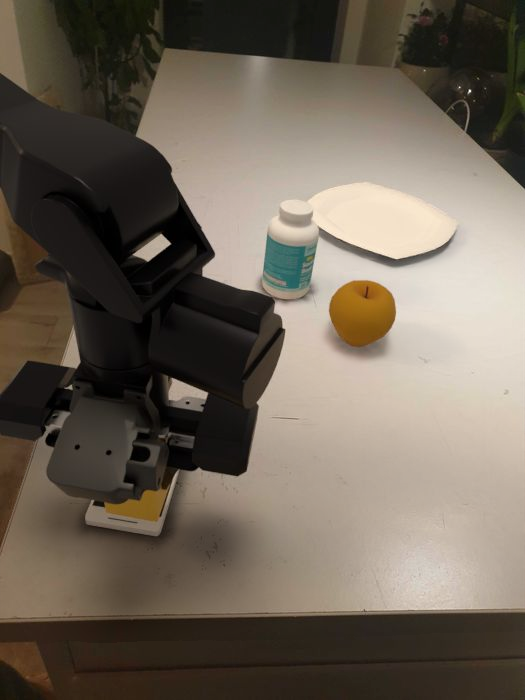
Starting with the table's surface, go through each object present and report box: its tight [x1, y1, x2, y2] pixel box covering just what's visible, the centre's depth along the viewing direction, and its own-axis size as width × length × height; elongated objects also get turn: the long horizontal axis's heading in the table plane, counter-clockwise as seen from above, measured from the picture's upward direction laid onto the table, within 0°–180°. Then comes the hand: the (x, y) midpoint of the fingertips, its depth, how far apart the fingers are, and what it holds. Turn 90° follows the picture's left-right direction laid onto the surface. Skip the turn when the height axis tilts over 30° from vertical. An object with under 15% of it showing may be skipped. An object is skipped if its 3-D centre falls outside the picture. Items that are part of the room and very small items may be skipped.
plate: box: [306, 181, 459, 261], centre depth 100 cm, size 27×27×2 cm
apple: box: [328, 279, 397, 348], centre depth 71 cm, size 9×9×9 cm
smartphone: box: [84, 470, 181, 537], centre depth 54 cm, size 7×16×1 cm, turn 173°
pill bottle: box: [261, 199, 320, 300], centre depth 77 cm, size 8×7×14 cm
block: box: [104, 436, 170, 522], centre depth 43 cm, size 4×4×9 cm
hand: (138, 480), depth 45 cm, fingers closed on block, 4 cm apart
